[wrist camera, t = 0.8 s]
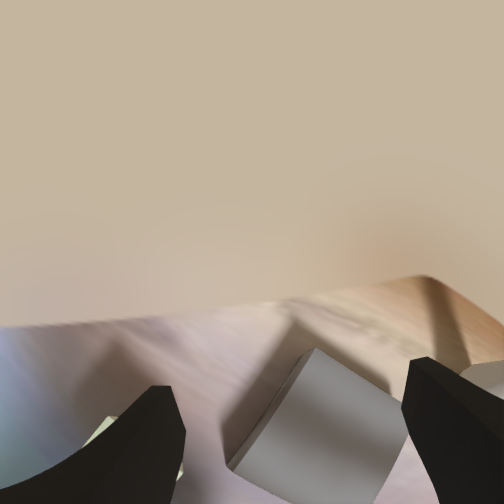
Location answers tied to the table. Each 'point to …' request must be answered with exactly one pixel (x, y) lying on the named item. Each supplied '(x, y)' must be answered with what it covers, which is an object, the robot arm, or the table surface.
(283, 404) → the gray plinth
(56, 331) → the table surface
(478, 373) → the salt shaker
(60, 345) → the table surface
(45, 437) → the table surface
